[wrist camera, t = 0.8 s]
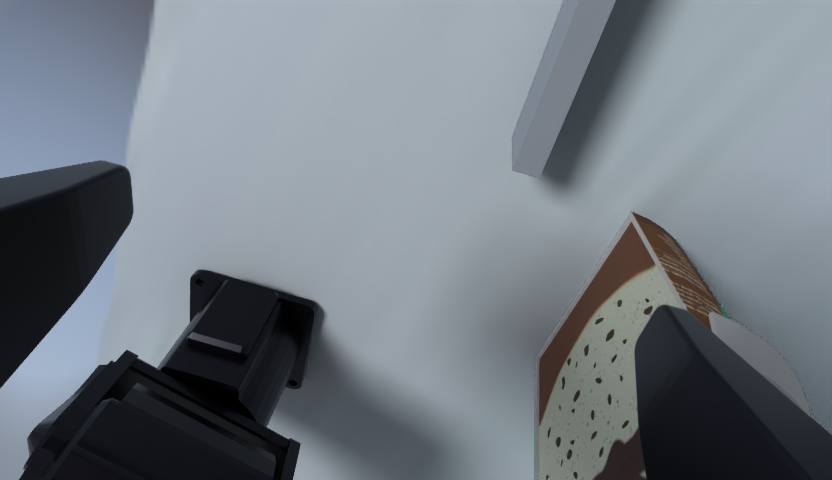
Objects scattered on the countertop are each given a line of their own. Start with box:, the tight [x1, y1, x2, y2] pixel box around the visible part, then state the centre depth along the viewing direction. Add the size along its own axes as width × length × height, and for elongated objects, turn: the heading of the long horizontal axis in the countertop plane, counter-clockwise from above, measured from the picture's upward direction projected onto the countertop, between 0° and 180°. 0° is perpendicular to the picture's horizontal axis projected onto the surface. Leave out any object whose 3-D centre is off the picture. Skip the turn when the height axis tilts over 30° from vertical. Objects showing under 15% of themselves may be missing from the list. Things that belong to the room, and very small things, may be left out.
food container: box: [534, 212, 811, 480], centre depth 21 cm, size 12×6×10 cm, turn 162°
